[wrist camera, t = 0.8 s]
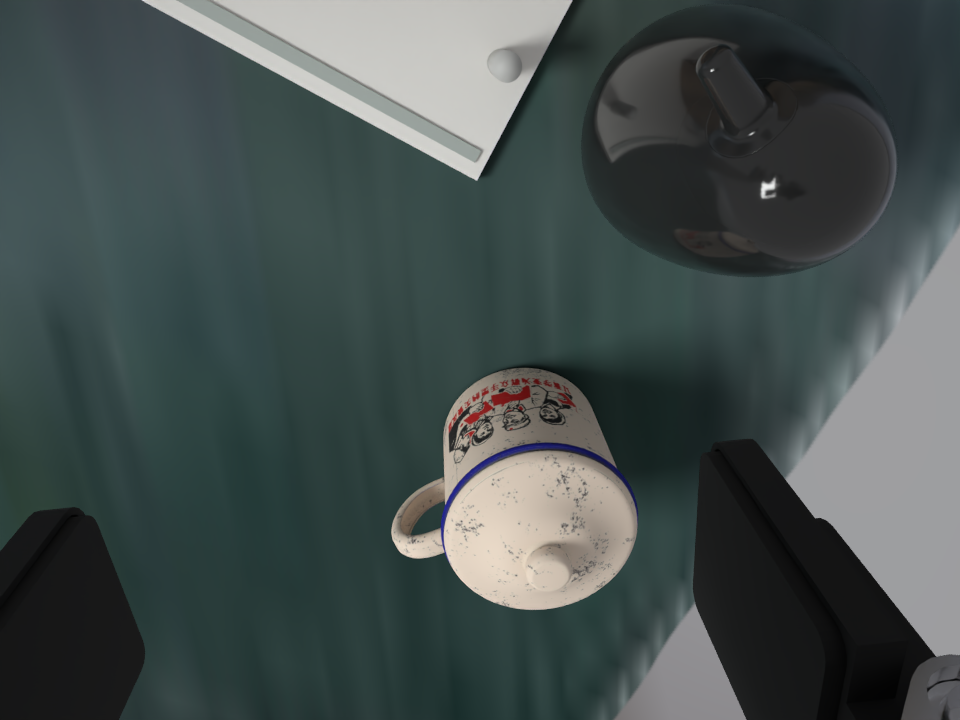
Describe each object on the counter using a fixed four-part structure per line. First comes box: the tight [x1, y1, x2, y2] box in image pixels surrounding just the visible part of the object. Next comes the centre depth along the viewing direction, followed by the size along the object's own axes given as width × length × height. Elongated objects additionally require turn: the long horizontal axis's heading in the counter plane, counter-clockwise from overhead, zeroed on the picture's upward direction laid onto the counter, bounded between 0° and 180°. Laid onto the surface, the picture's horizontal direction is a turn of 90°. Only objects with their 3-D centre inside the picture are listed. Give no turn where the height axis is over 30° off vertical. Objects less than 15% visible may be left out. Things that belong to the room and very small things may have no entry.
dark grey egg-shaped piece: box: [581, 4, 898, 277], centre depth 27 cm, size 10×10×15 cm
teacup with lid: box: [392, 368, 638, 610], centre depth 35 cm, size 12×9×12 cm
